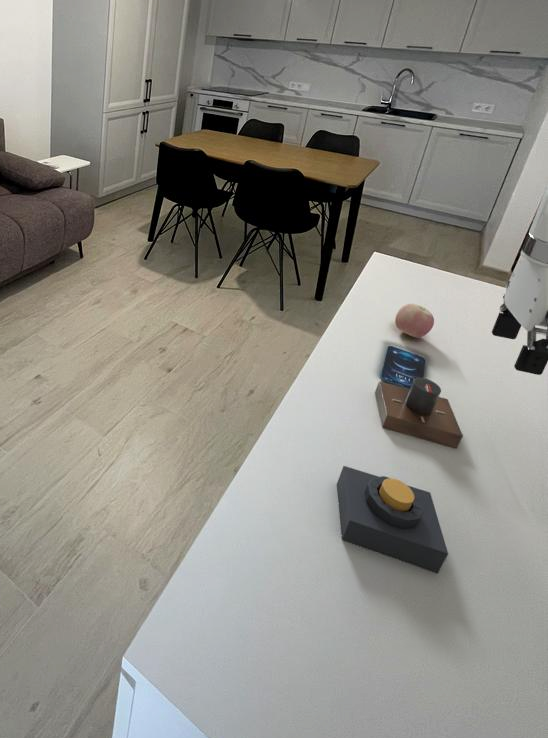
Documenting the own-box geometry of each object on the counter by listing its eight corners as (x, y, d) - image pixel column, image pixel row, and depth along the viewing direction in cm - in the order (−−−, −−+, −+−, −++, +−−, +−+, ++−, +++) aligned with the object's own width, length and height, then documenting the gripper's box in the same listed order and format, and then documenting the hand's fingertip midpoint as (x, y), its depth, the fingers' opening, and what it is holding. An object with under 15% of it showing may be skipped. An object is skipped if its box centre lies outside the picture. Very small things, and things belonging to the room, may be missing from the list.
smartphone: (426, 357, 111) (422, 393, 99) (425, 359, 111) (421, 396, 100) (388, 344, 115) (379, 377, 103) (387, 346, 115) (379, 379, 103)
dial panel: (442, 410, 96) (447, 398, 95) (457, 448, 88) (463, 435, 86) (374, 392, 100) (379, 380, 99) (382, 427, 91) (387, 414, 90)
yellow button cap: (407, 492, 72) (411, 483, 71) (413, 515, 68) (417, 507, 68) (377, 482, 73) (380, 474, 72) (381, 505, 69) (384, 496, 69)
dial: (403, 395, 95) (411, 373, 93) (428, 402, 94) (438, 380, 92) (407, 410, 91) (416, 388, 89) (434, 418, 90) (444, 395, 88)
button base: (421, 511, 75) (434, 483, 73) (437, 574, 67) (453, 544, 64) (336, 484, 79) (346, 456, 77) (341, 540, 70) (353, 511, 68)
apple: (426, 349, 115) (438, 320, 112) (390, 337, 119) (400, 308, 115) (426, 333, 121) (437, 305, 118) (391, 322, 125) (401, 294, 122)
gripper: (626, 283, 61) (571, 394, 68) (562, 235, 76) (521, 330, 83) (552, 271, 64) (505, 380, 70) (504, 227, 79) (469, 320, 85)
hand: (514, 353), depth 76 cm, fingers open, 9 cm apart
